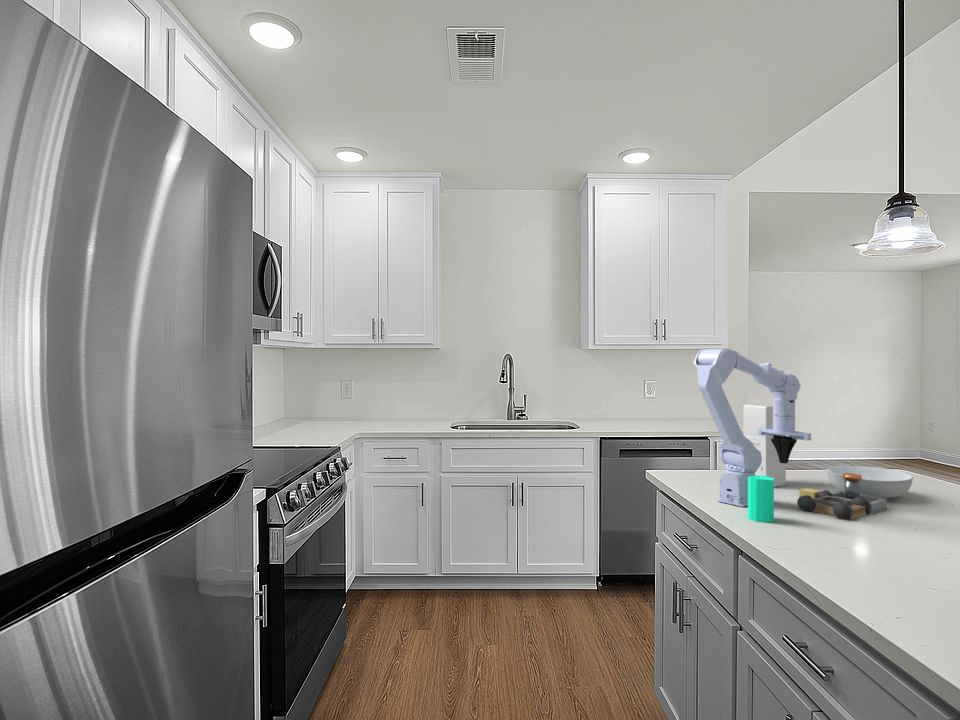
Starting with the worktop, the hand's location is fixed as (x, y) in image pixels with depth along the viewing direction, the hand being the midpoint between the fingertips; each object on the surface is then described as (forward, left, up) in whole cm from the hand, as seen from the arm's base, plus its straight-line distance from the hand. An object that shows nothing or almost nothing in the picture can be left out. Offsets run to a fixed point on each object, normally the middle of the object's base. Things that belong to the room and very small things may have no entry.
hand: (783, 462), depth 174 cm
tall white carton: (+12, +13, -10) cm, 20 cm away
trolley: (-5, -16, -10) cm, 19 cm away
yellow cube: (0, -7, -10) cm, 13 cm away
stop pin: (+5, -16, -9) cm, 19 cm away
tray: (+6, -16, -10) cm, 20 cm away
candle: (-27, -9, -10) cm, 30 cm away
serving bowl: (+22, -13, -10) cm, 28 cm away
